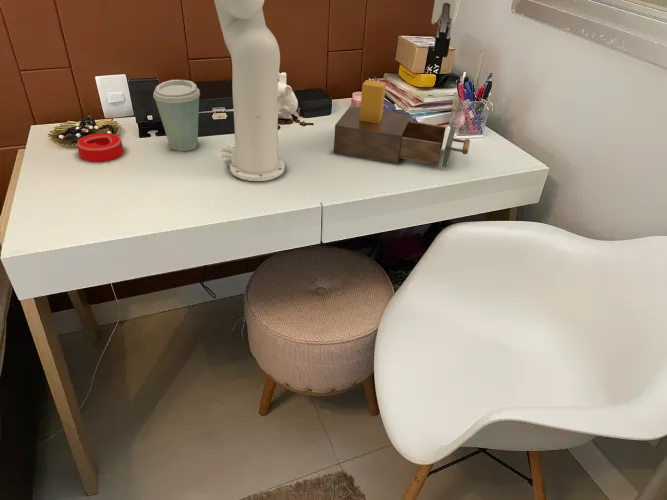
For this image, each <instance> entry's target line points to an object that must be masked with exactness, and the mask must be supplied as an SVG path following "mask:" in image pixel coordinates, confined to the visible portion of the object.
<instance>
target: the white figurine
mask: <svg viewBox="0 0 667 500" xmlns="http://www.w3.org/2000/svg"><path fill="white" fill-rule="evenodd" d="M298 101H299V100H298V99H297V96H296V94H295V92H294V91H293V88H292V87H291V86H290V85H288V84H287V73H286V72H281V73H280V72H279V76H278V119H284V120H285V119H286V120H290V119H292V118H293V116H292V115H293V114H294V113H296V112H297V110H298V108H299V102H298Z"/></svg>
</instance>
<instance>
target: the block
mask: <svg viewBox="0 0 667 500" xmlns="http://www.w3.org/2000/svg"><path fill="white" fill-rule="evenodd" d="M361 85H362V86H361V96H360V97H361V98H360V107H359V108H360V119H359V121H365V122H372V123H378V124H379V122H380V121H381V119H382V115H383V111H384V107H385V96H386V95H385V94H386V86H387V82H383V81H376V80H370V79H366V80H365V81H364V82H363V83H362V84H361Z"/></svg>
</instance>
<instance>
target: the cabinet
mask: <svg viewBox="0 0 667 500" xmlns="http://www.w3.org/2000/svg"><path fill="white" fill-rule="evenodd" d="M411 117H412V115H410V114H402V113H396V112H389V111H384V110H383V115H382V119H381V121H380V122H379V124H378V123H372V122H365V121H359V119H360V107H358V106H351V105H350V106H349V107H348V108H347V110H346V111H345V112H344V113H343V114H342V115H341V117H340V118H339V119H338V121H337V122H336V123H335V125H334V135H333V136H334V137H333V154H337V155H341V156H342V155H343V156H347V157H354V158H360V159H366V160H372V161H376V162H384V163H389V164H394V165H398V164H399V162H400V161H401V158H399V153H400V146H401V139H402V136H403V133H404V131H405V129H406V127H407V125H408V123H409V121H412V120H411Z"/></svg>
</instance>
